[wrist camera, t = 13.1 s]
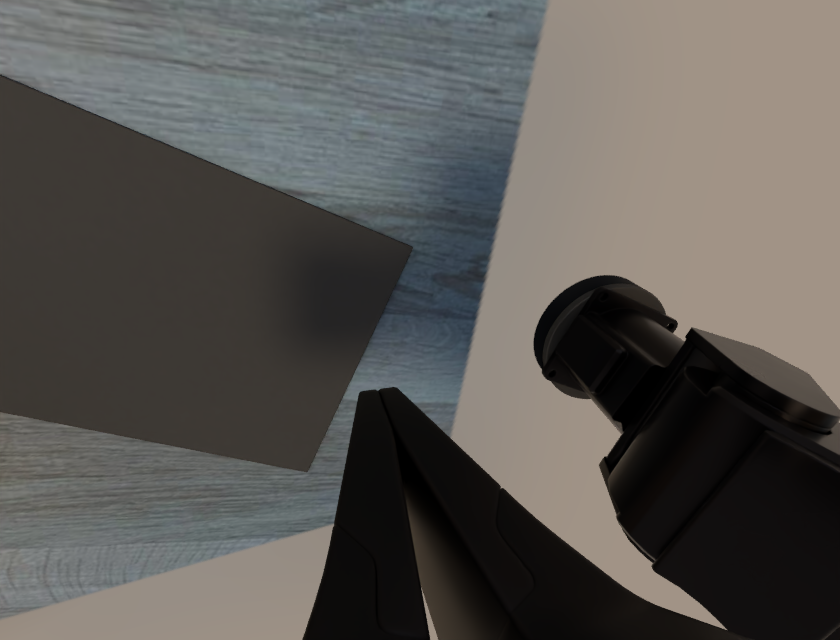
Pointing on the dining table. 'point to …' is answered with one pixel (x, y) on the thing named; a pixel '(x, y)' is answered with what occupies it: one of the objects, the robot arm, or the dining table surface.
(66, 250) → the plate
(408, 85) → the dining table surface
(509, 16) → the dining table surface
